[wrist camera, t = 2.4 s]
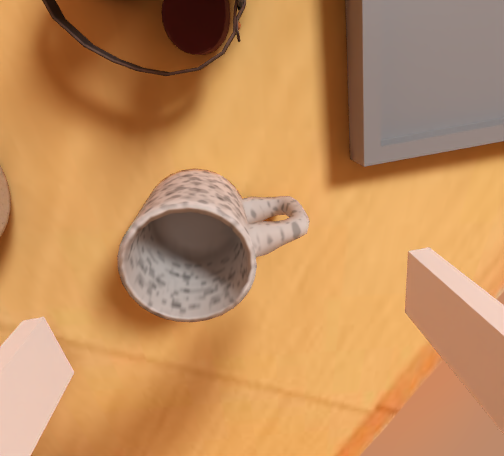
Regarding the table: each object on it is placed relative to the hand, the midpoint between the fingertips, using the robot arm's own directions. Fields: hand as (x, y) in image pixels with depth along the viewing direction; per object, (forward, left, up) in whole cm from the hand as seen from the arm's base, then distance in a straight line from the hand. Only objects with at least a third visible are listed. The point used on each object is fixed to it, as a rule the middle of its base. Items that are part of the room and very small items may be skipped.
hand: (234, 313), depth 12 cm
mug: (0, 0, -11) cm, 11 cm away
